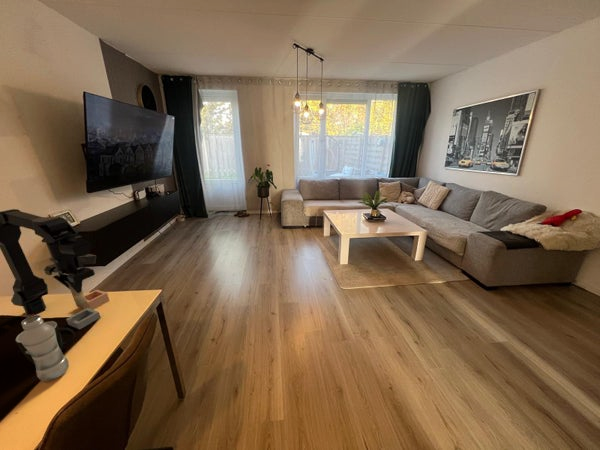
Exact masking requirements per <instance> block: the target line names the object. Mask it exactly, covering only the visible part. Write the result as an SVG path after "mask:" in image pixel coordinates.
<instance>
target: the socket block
mask: <svg viewBox="0 0 600 450" xmlns="http://www.w3.org/2000/svg"><path fill="white" fill-rule="evenodd" d="M100 318H101V315H100V312H99V311H97V310H95V309H94V310H92V309H90V308H86V309H85V308H84V309H83V310H80V311H79V312H77V313H75V314H74V315H71V316H70V317H68V318H66V319H65V320H66V322H67V324H68V326H70V327H73V328H75V329H78V330H81V329H83V328H85V327H87V326H88V325H90V324H92V323H93V322H95V321H97V320H99V319H100Z"/></svg>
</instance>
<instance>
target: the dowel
mask: <svg viewBox="0 0 600 450" xmlns="http://www.w3.org/2000/svg"><path fill="white" fill-rule="evenodd" d="M69 288H70V289H69V290H70V292H71V295H72V298H73V301H74V302H75V306H76V308H82V307H83V306H85V305H87V301H86V298H85V293H84V291H83V289H82V291H81V292H80V293H77V292H76V291H75V290H74V289H72V288H71V287H70V286H69Z"/></svg>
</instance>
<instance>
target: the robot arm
mask: <svg viewBox="0 0 600 450" xmlns="http://www.w3.org/2000/svg"><path fill="white" fill-rule="evenodd" d="M21 228H25V229H29V230H32V231H34V235H37V237H41V239H42V240H41V243H45V244H46V247H47V249H48V251H49V254H50V258H49V260H50V261H49V262H52V263H53V264H50V265H46V266H45V268H44V269H43V271H44V273H45V275H47V276H52V275H53V274H54V276H52V278H53V279H55V280H56V281H58V282H59V283H60V284H62V285H64V286H65V288H67V289H68V290H70V288H69V286H70V287H71V288H72V289H74V290H75V291H76V292H77V293H80V292H81V291H82V290H83V281H85V280H86V279H89V278H92V277H94V276H95V275H96V273H95V270H94V268H93V269H92V268H89V267H85V266H84V265H95V264H96V263H97V261H96V260H97V255H96V254H91V253H90V252H91V250H92V248H93V247H92V243H91V242H90V241H89V240H88V239H83V237H82V236H81V235H80V234H79V232H78V231H77V229H76V228H75V227H74V226H72V225H71V223H69V222H68V220H67V219H65V218H63V216H62V217H61V216H45V217H44V216H39V215H36V214H32V213H29V212H24V211H21V210H19V209H15V208H14V209H13V208H11V209H7V210H2V211H0V251H1V253H2V255H3V257H4V259H5V261H6V263H7V266H8V267H9V270H10V272H11V273H12V276H13V278H14V279H15V280H14V283H13V285H12V291H13V295H12V297H11V298H10V299H11V300H10V302H11V303H12V304H13V305H14V306H17V307H18V306H19V307H22V308H23V309H24V312H23V313H22V315H25V314H26V315H27V316H29V315H31V316H35V315H38V314H39V315H40V314H41V313H43V312H45V311H47V309H46V308H47V305H46V302H45V301H44V298H43V297H44V296H46V295H48V294H49V289H48V284H47V283H46V282H45V279H44V278H43V277H39V276H37V275H35V274H34V272H33V270H32V267H31V265H30V263H29V261H28V259H27V257H26V254H25V252H24V250H23V249H22V246H21V244H20V242H19V241H20V238H21V235H22V230H21Z"/></svg>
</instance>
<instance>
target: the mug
mask: <svg viewBox="0 0 600 450" xmlns="http://www.w3.org/2000/svg"><path fill="white" fill-rule="evenodd" d="M43 323H45V324H49V325H51V326H52V327H54V329H55V333H56V339H57V342H58V345H59V348H60V350H61V352H62V351H63V348H64V347H65V346H67V345H69V344H70V343H72V341H73V340H74V338H75V331H74V330H73V329H71V328H69V327H59V325H58V323H57V322H56V321H54V320H51V321H44V322H43ZM62 331H63V332H64V331H65V332H68V333H70V335H71V336H70V338H69V340H67V341H65V342H63V337H62V334H61V332H62ZM24 332H25V330H23V331H22V332H21V333H19V334H18V335H17V336H16V338H15V343H16V345H17V346H18V348H19V349H20V351H21V353H22V354H23V355H24V356H25V357H26V359H28V361H30V362H31V363H32V364H34V365H35V363H34V360H33V358H32V356H31V355H30V353H29V352H28V350H27V349H26V348H25V347H24V346H23V344H22V342H21V338H22V335H23V333H24Z"/></svg>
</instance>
